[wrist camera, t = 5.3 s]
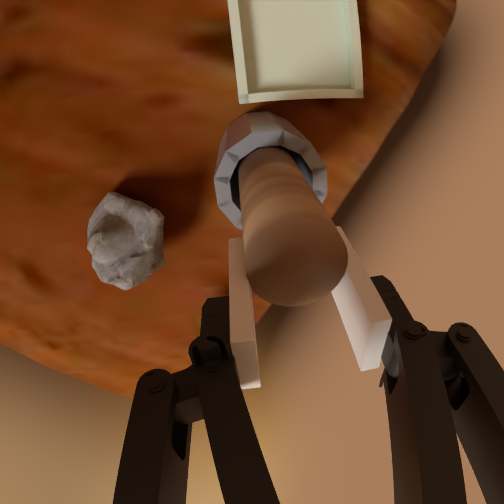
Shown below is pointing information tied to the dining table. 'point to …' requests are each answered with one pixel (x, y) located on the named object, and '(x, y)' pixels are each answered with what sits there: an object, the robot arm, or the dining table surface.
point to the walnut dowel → (286, 231)
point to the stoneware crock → (262, 135)
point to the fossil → (125, 240)
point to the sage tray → (296, 49)
